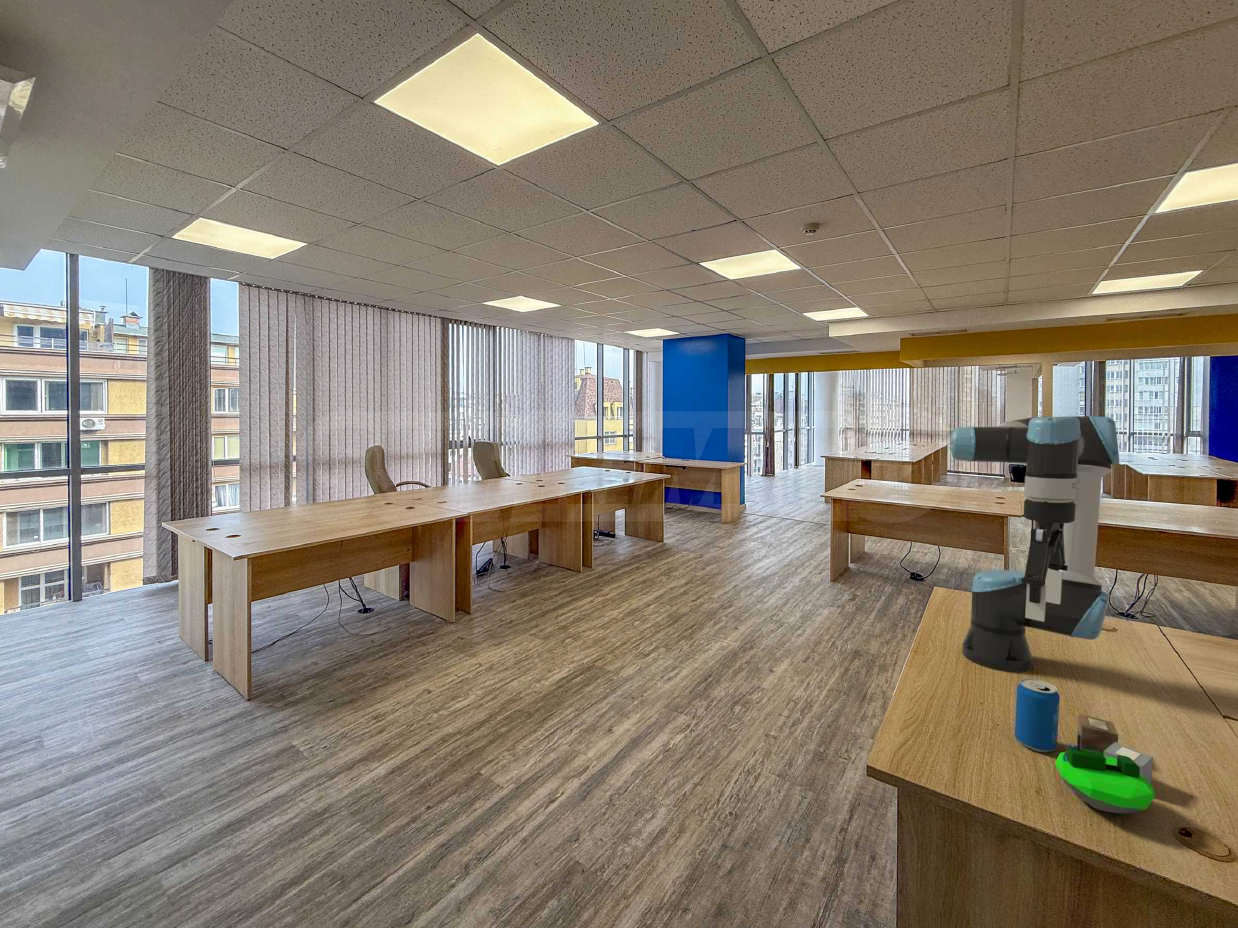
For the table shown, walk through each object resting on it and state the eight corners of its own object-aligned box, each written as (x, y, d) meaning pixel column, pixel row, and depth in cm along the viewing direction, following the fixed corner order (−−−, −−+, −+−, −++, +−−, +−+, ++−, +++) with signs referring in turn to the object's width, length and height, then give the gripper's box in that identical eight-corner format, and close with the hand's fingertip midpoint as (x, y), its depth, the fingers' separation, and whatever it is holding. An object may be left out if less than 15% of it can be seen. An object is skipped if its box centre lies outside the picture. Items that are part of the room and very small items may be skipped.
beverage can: (1046, 758, 99) (1049, 696, 98) (1007, 740, 105) (1010, 681, 104) (1063, 748, 102) (1066, 688, 101) (1025, 731, 108) (1028, 674, 107)
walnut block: (1080, 751, 101) (1082, 725, 101) (1077, 738, 105) (1078, 713, 105) (1116, 760, 98) (1118, 734, 98) (1111, 746, 102) (1112, 721, 102)
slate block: (1102, 777, 94) (1103, 750, 93) (1113, 768, 96) (1114, 741, 96) (1140, 794, 89) (1142, 765, 89) (1150, 784, 92) (1152, 756, 91)
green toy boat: (1073, 820, 84) (1077, 755, 83) (1044, 773, 95) (1047, 714, 94) (1172, 840, 80) (1177, 771, 79) (1130, 788, 91) (1134, 727, 89)
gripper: (1060, 509, 88) (1054, 633, 90) (1088, 495, 105) (1081, 600, 106) (1006, 504, 94) (1001, 621, 96) (1040, 491, 110) (1035, 591, 112)
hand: (1043, 610), depth 101 cm, fingers open, 13 cm apart
